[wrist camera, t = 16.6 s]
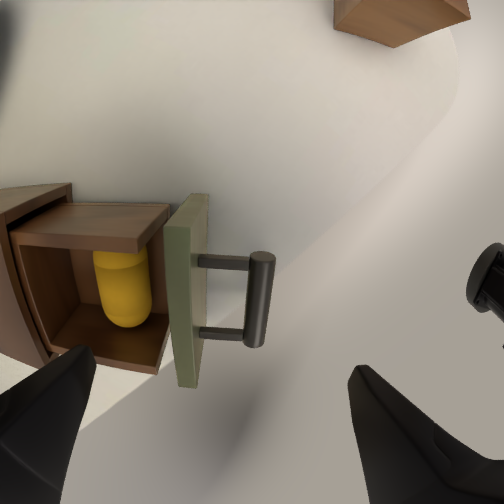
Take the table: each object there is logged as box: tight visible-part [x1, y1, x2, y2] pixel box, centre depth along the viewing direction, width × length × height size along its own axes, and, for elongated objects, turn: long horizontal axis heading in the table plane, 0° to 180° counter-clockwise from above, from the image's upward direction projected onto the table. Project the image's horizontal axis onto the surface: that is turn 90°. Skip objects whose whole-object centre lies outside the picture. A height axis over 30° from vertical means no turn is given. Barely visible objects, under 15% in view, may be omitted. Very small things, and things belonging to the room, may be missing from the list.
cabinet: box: [0, 183, 72, 369], centre depth 15 cm, size 13×12×9 cm
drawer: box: [9, 194, 276, 389], centre depth 16 cm, size 16×10×7 cm
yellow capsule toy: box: [93, 245, 152, 327], centre depth 16 cm, size 7×4×4 cm, turn 175°
